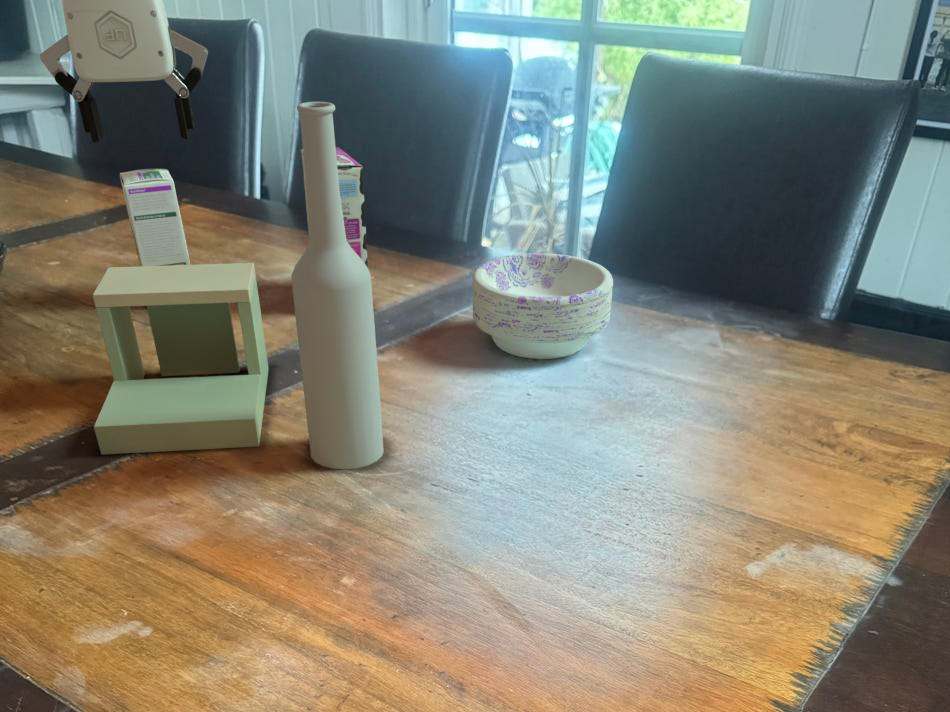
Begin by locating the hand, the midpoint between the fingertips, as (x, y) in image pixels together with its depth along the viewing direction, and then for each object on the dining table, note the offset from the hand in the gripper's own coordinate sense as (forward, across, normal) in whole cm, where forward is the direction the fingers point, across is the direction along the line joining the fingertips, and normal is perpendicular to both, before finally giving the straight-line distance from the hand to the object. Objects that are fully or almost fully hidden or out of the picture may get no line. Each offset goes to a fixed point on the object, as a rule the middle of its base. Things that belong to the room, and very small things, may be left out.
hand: (142, 138), depth 106 cm
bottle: (+18, +20, -43) cm, 51 cm away
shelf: (+18, +5, -32) cm, 37 cm away
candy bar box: (+19, +20, -2) cm, 28 cm away
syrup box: (+18, -1, 0) cm, 18 cm away
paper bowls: (+19, +42, -19) cm, 50 cm away
